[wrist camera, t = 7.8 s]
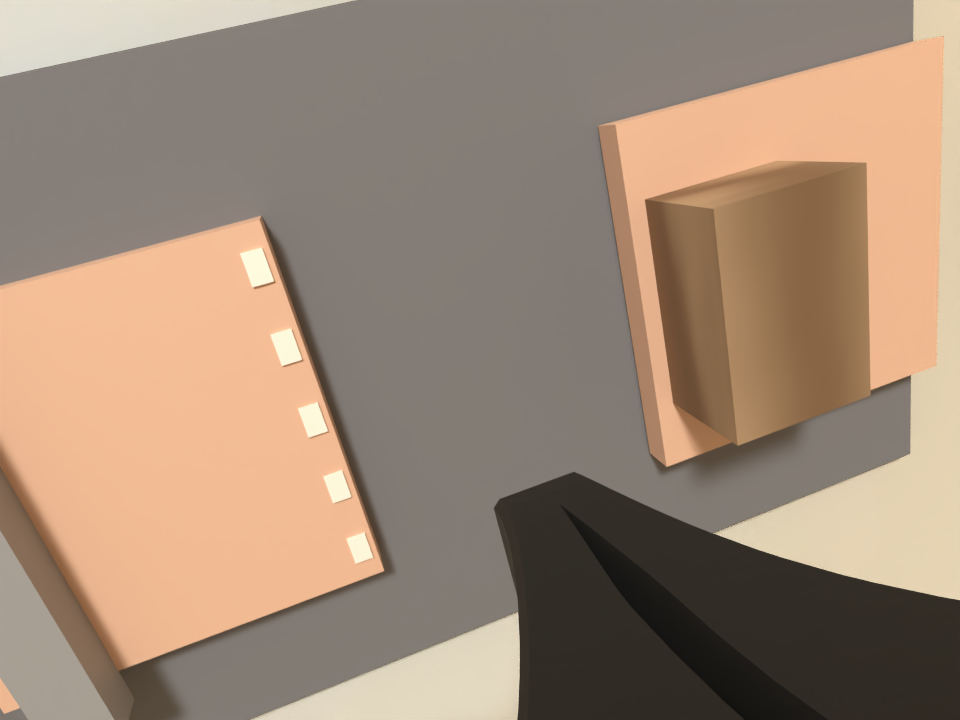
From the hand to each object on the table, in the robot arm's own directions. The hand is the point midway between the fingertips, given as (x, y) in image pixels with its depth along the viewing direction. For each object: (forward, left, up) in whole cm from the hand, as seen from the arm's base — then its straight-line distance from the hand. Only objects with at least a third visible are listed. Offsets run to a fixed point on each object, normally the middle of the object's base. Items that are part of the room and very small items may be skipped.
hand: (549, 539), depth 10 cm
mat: (+1, 0, -9) cm, 9 cm away
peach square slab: (+11, 0, -9) cm, 14 cm away
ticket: (-8, 0, -9) cm, 12 cm away
